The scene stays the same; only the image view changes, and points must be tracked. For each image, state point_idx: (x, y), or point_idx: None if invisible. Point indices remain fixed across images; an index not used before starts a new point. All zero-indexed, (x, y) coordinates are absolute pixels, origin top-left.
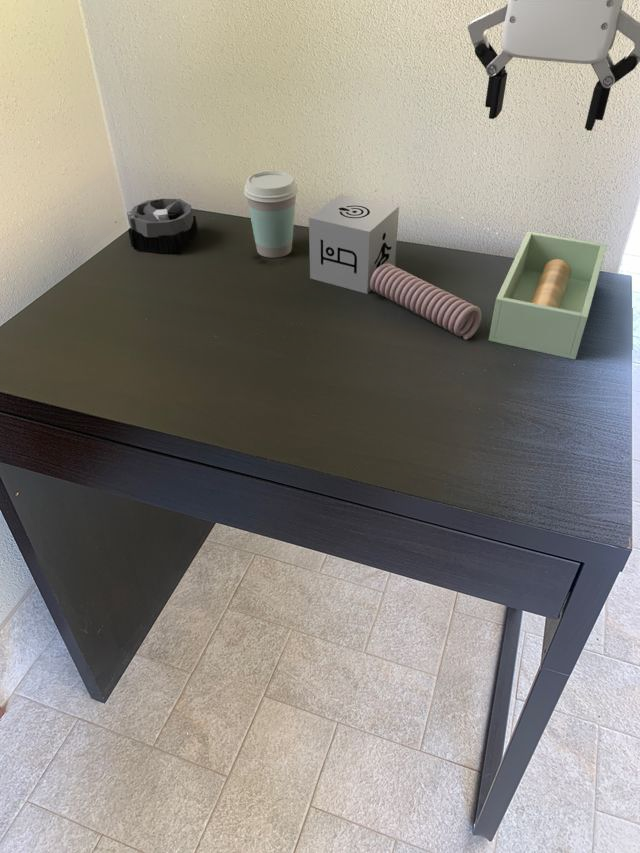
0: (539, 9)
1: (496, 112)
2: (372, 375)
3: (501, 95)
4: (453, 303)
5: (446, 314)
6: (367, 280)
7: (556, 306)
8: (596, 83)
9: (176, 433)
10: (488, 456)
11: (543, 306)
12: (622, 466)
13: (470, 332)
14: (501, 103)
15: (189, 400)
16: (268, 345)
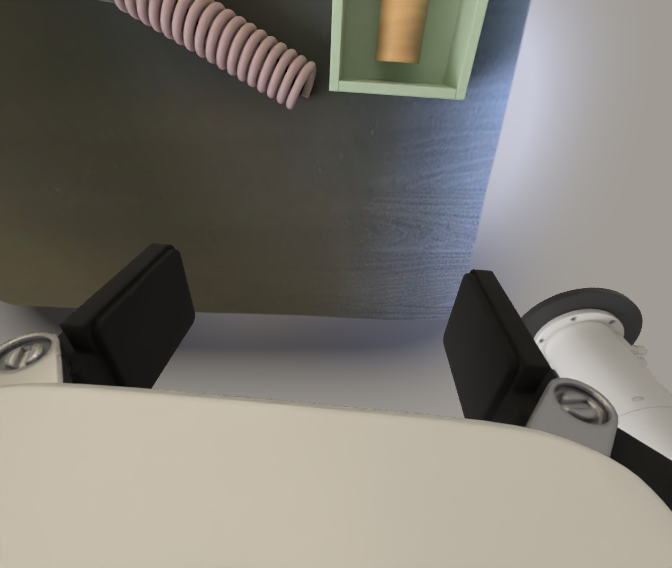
0: None
1: (188, 328)
2: (235, 203)
3: (159, 323)
4: (271, 81)
5: (269, 96)
6: (114, 2)
7: (424, 9)
8: (496, 394)
9: None
10: (363, 273)
11: (400, 89)
12: (470, 256)
13: (308, 86)
14: (170, 285)
15: None
16: (114, 187)
